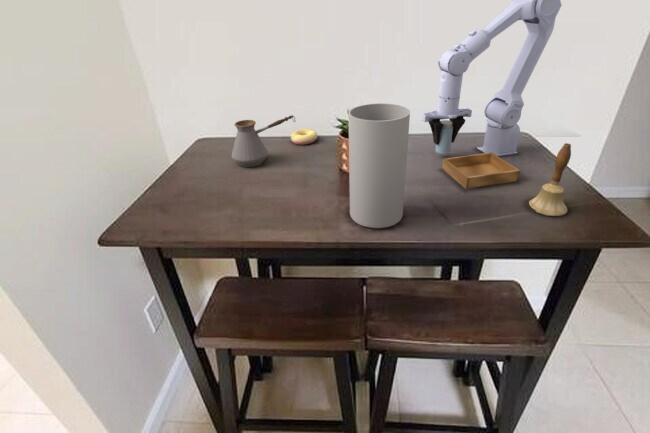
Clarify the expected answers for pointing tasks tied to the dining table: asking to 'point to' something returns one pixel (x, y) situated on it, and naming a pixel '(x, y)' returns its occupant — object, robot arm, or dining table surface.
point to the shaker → (445, 138)
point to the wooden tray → (480, 170)
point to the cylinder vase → (377, 163)
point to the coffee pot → (251, 143)
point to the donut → (304, 136)
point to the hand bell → (553, 188)
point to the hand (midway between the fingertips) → (443, 142)
